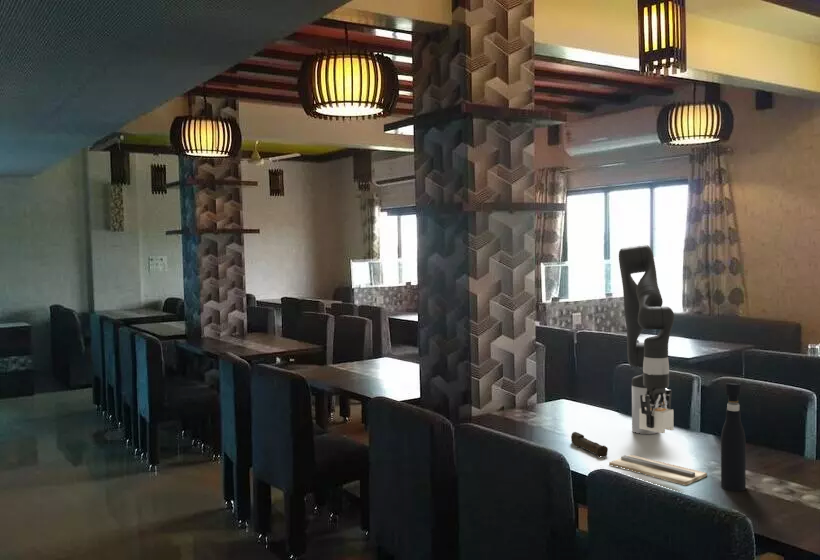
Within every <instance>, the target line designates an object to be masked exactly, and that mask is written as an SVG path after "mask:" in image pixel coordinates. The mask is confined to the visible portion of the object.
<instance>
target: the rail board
mask: <svg viewBox="0 0 820 560" xmlns="http://www.w3.org/2000/svg"><path fill="white" fill-rule="evenodd" d="M608 463H609V465H608V466H610V465H613V466H612V467H614V466H618V467H622V468H625V469H629V470H633V471H636V472H635V473H637V472H640V473H643V474H642V475H644V474H646V475H645V476H648V475H650V476H649V477H652V476H654V477H653V478H656V477H657V479H660V478H661V480H663V479H664V481H667V480H668V482H671V481H672V482H671V483H675V484H680V485H683V486H688V485H689V484H692V483H694V482H697V481H699V480H701V479H704V478H706V477H707V476H708V473H707V472H704V471H700V470H696V469H692V468H688V467H684V466H680V465H675V464H671V463H667V462H665V461H659V460H655V459H652V458H651V459H650V458H647V457H642V456H638V455H633V454H629V455H625V454H624V455H622V456H620V458H617V459H615V460H611V461H609V462H608ZM625 469H624V470H625ZM629 470H628V471H629ZM633 471H632V472H633ZM640 473H639V474H640Z"/></svg>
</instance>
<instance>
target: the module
mask: <svg viewBox="0 0 820 560" xmlns="http://www.w3.org/2000/svg"><path fill="white" fill-rule="evenodd" d="M650 409H651V410H652V408H650ZM645 410H646V407H645ZM674 415H675V414H674V409H673V408H672V409H671V408H670V409H666V408H661V407H657V409H655V411H654V428H649V427H647V424H646V415H645V414H642V412H641V408H640V409H639V429H644V430H649V431H654V432H658V433H659V434H665V433H666V431H667V430H668V431H674V430H675V428H674V420H675V419H674V418H675V417H674Z"/></svg>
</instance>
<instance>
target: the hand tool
mask: <svg viewBox="0 0 820 560" xmlns="http://www.w3.org/2000/svg"><path fill="white" fill-rule="evenodd" d="M570 437H571V444H572V445H573V446H575V447H576V446H577V448H583V449H584V450H586V451H589V452H590V453H592V454H594V455H595V456H597V457H598V458H599V457H600V456H605V457H607V455H608V450H609V449H608V446H606V445H601V444H599V443H598V442H594V441H592V440H590V439H587V438H586V437H585V435H584V434H582V433H580V432H576V431H573V432H572V433H571V435H570ZM600 458H601V457H600Z"/></svg>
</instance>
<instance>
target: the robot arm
mask: <svg viewBox="0 0 820 560" xmlns="http://www.w3.org/2000/svg"><path fill="white" fill-rule="evenodd" d="M618 264H619V270H620V271H619V272H620V276H621V277H620V278H621V283H622V289H623V291H622V293H623V310H624V319H625V328H626V346H627V347H626V348H627V349H626V351H627V352H626V353H627V362H628V364H629V365H628V366H630V367H632V368H642V372H643V373H642V374H640V375H636V376H634V377H632V378H631V430H632V433H633V432H634V433H635V432H636V433H635V434H639V433H640V435H655V434H658V433H659V432H654V431H649V430H644V429H639V409H640V408H641V412H642V414H645V415H646V424H647V427H649V428H654V411H655V409H657V407H661V408H666V409H671V408H672V407H671V406H672V395H673V394H672V393H673V391H672V389H668V388H669V386H670V362H669V342H670V336H671V333H672V329H673V326H674V322H675V313H674V311H673V309H672V308H671V307H669V306H663V302H664V301H663V298H662V295H661V291H660V288H659V284H658V277H657V270H656V269H657V268H656V263H655V258H654V254H653V250H652V248H651V246H650V245H648V244H639V245H634V246H633V245H632V246H625V247H621V248H620V249H619V251H618ZM638 273H644V274H643V275H642V276H641V278H640V280H639V281H638V282H637V283H636V282H635V280H634V278H633V277H632V274H638ZM644 330H646V331H647V330H651V331H652V330H653V331H654V330H660V331H659V333H657V335H653V336H649V337H646V338H645V339H644V342H637V341H638V339H639V337H640V336H641V334H642V332H643V331H644ZM645 407H646V410H645ZM650 408H652V410H651V409H650Z"/></svg>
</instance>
